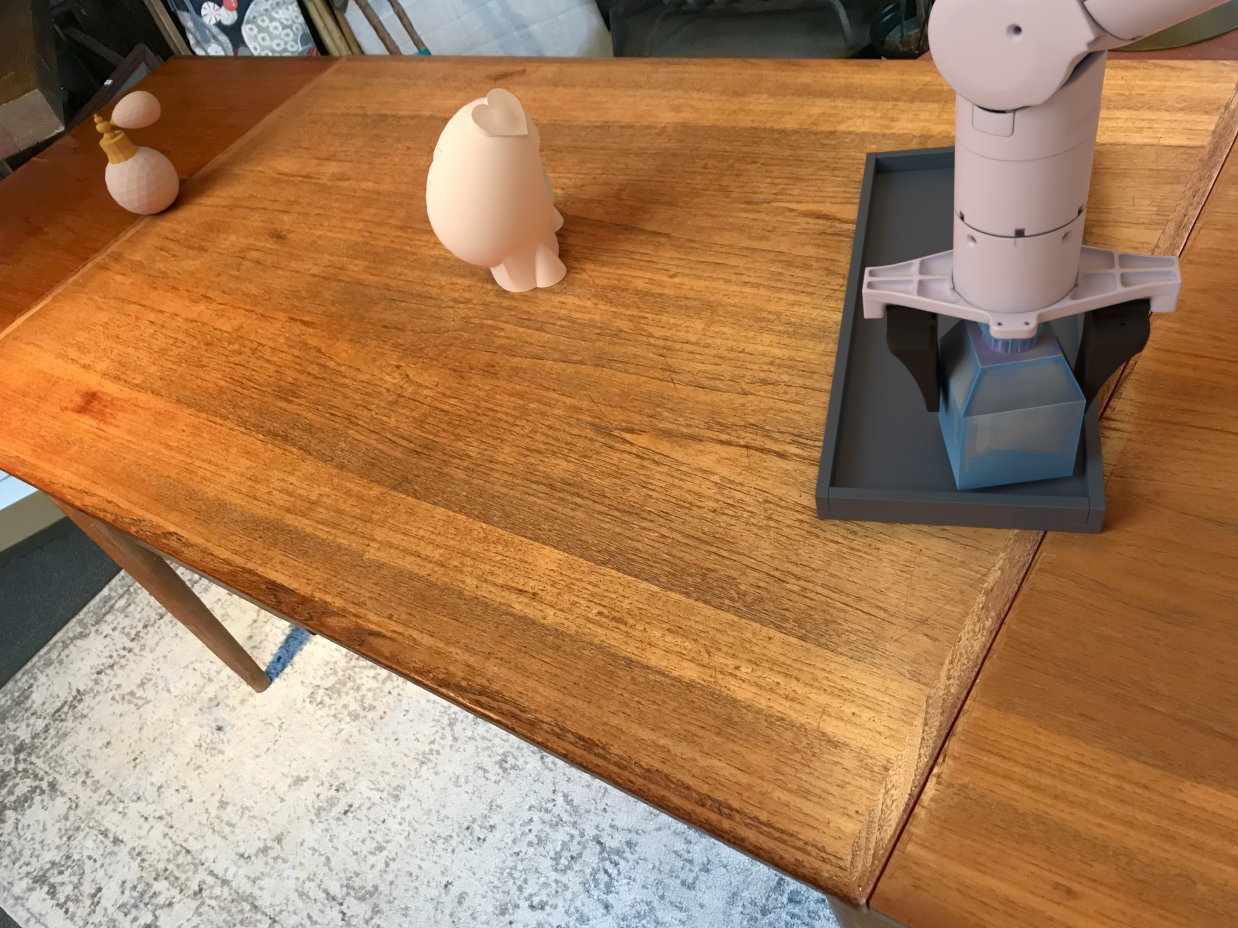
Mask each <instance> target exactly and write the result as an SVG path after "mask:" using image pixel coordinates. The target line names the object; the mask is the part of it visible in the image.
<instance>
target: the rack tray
mask: <svg viewBox="0 0 1238 928" xmlns="http://www.w3.org/2000/svg"><path fill="white" fill-rule="evenodd" d="M954 181H955V145H947V146H936V147H934V146H933V147H923V148H922V147H921V148H910V149H898V150H886V151H885V150H884V151H877V152H876V151H873V152H872V151H871V152H866V155H865V162H864V167H863V174H862V181H861V187H860V194H859V201H858V208H857V214H856V221H855V227H854V234H853V241H852V247H851V254H850V261H849V266H848V268H849V269H848V273H847V281H846V286H845V293H844V301H843V307H842V313H841V321H840V325H839V326H840V327H839V334H838V341H837V346H836V354H835V360H834V365H833V366H834V368H833V373H832V380H831V387H830V393H829V400H828V406H827V413H826V419H825V424H824V425H825V426H824V431H823V432H824V433H823V440H822V446H821V453H820V459H819V466H818V471H817V472H818V473H817V478H816V486H815V491H814V501H815V507H816V513H817V519H819V520H834V521H835V520H837V521H852V522H853V521H854V522H874V523H890V524H891V523H893V524H911V525H928V526H929V525H932V526H949V527H951V526H952V527H966V528H967V527H970V528H971V527H972V528H990V529H1006V530H1007V529H1008V530H1010V529H1011V530H1024V531H1025V530H1027V531H1028V530H1029V531H1046V532H1047V531H1048V532H1063V533H1081V534H1082V533H1085V534H1102V529H1103V525H1104V522H1105V518H1106V513H1107V504H1106V503H1107V502H1106V501H1107V500H1106V489H1105V487H1106V486H1105V475H1104V463H1103V462H1104V461H1103V451H1102V449H1103V448H1102V438H1101V437H1102V436H1101V427H1100V426H1101V425H1100V424H1101V423H1100V412H1099V399H1098V398H1099V397H1098V394H1097V395H1096V397H1095V398H1094V400H1093V402H1092V403H1091V405H1090V407H1089V409H1088V412H1087V413H1086V414H1083V419H1082V424H1081V429H1080V435H1079V440H1078V445H1077V451H1076V456H1075V461H1074V467H1073V472H1072V476H1066V477H1058V478H1050V479H1042V480H1034V481H1027V482H1019V483H1011V484H1003V485H995V486H988V487H980V488H972V489H964V490H958V488H957V484H956V481H955V477H954V473H953V470H952V466H951V463H950V459H949V455H948V452H947V448H946V445H945V441H944V437H943V434H942V430H941V427H940V423H939V419H938V416H937V412H928V411H927V409H926V405H925V401H924V398H923V396H922V393H921V391H920V389H919V387H918V385H917V383H916V381H915V379H914V378H913V376H912V375H911V373H910V372H909V370H908V369H907V368H906V367H905V366H904V364H903V363H902V362H901V361H900V360H899V359H898V358H897V357H895V356H894V355H893V354H891V352H890V350H889V348H888V345H887V342H886V331H887V310H886V315H885V317H883V318H868V319H866V318H864V307H863V294H862V290H863V283H864V276H865V269H866V268H867V267H879V266H887V265H893V264H898V263H903V262H907V261H910V260H914V259H918V258H922V257H926V256H930V255H933V254H937V253H941V252H945V251H949V250H953V239H954ZM1085 233H1086V232H1085V229H1084V230H1083V237H1082V244H1081V245H1086V234H1085ZM1084 313H1085V312H1082V313H1078V314H1074V315H1069V316H1065V317H1061V318H1057V319H1053V320H1051V321H1052V323H1053V325H1054V327H1055V330H1056V332H1057V334H1058V337H1059V339H1060V341H1061V344H1062V346H1063V348H1064V351H1065V353H1066V355H1067V358H1068V360H1069V362H1070V365H1071V367H1072V369H1073V371H1074V367H1075V363H1076V359H1077V355H1078V351H1079V347H1080V343H1081V338H1082V331H1083V322H1084ZM961 319H962V318H958V317H953V316H948V315H944V314H939V313H938V340H939V339H940V338H941V337H942V336H943V335H944V334H946V333H947V332H948V331H949V330H950V329H951V328H952V327H953V326H954V325H955V324H957V323H958V322H959V321H960V320H961Z"/></svg>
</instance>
